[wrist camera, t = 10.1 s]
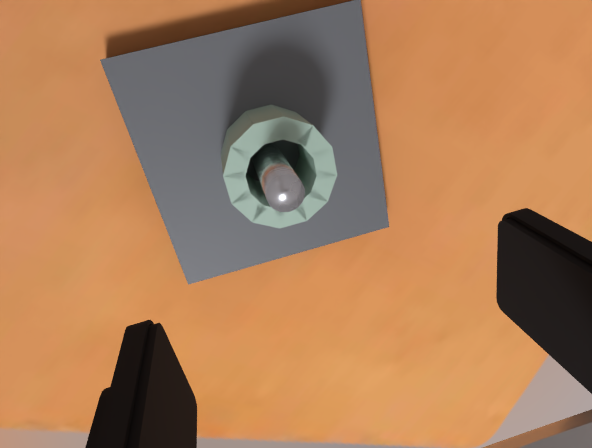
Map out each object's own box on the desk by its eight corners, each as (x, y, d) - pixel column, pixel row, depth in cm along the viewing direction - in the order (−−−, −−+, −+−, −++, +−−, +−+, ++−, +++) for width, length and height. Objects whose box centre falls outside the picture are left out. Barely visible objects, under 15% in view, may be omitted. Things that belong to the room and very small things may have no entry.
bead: (210, 119, 26) (210, 135, 22) (305, 95, 27) (325, 105, 22) (236, 209, 29) (242, 239, 25) (323, 185, 30) (343, 210, 25)
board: (105, 59, 25) (100, 59, 24) (352, 1, 27) (360, -2, 25) (189, 274, 32) (188, 284, 31) (381, 219, 33) (389, 226, 32)
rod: (247, 145, 27) (261, 180, 20) (276, 137, 28) (300, 170, 20) (255, 173, 28) (271, 216, 21) (283, 165, 28) (308, 206, 21)
